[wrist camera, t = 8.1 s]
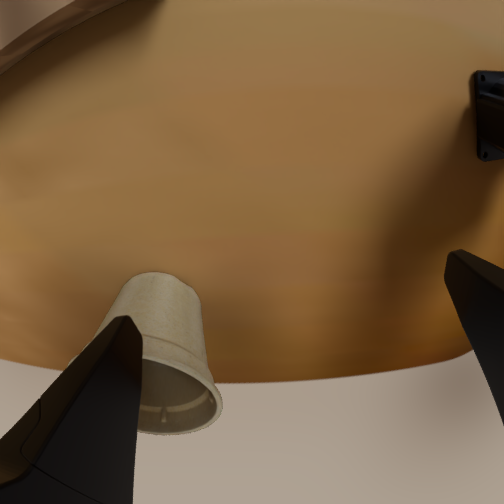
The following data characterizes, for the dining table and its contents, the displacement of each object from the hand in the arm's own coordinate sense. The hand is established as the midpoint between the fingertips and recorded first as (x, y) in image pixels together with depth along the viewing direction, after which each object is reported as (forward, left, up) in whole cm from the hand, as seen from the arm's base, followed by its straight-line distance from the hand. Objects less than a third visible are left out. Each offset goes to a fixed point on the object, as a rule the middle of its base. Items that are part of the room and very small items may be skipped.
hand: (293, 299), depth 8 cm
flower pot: (+10, +9, -12) cm, 18 cm away
